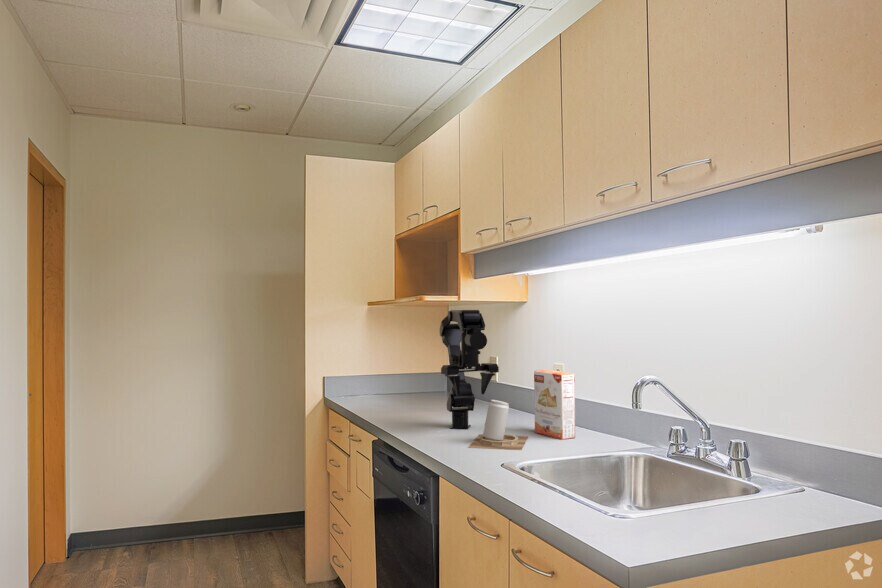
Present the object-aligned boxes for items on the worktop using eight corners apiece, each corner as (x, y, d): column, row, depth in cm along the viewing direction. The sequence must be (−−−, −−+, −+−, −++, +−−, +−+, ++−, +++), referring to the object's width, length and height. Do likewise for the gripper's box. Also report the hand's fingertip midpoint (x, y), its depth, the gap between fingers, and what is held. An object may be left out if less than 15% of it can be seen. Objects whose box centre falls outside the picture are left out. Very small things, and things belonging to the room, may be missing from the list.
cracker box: (533, 433, 216) (532, 370, 216) (547, 431, 219) (547, 368, 219) (561, 440, 203) (560, 373, 204) (576, 438, 207) (575, 372, 207)
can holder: (479, 435, 212) (479, 430, 212) (528, 437, 209) (528, 432, 209) (467, 448, 193) (467, 443, 193) (521, 451, 189) (521, 445, 189)
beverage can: (478, 437, 199) (486, 399, 200) (487, 436, 205) (494, 398, 205) (497, 443, 196) (505, 404, 196) (505, 441, 202) (513, 403, 202)
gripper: (483, 345, 225) (484, 390, 225) (434, 347, 218) (434, 393, 217) (499, 347, 215) (499, 394, 215) (447, 349, 207) (448, 398, 207)
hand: (470, 395), depth 214 cm, fingers open, 9 cm apart
